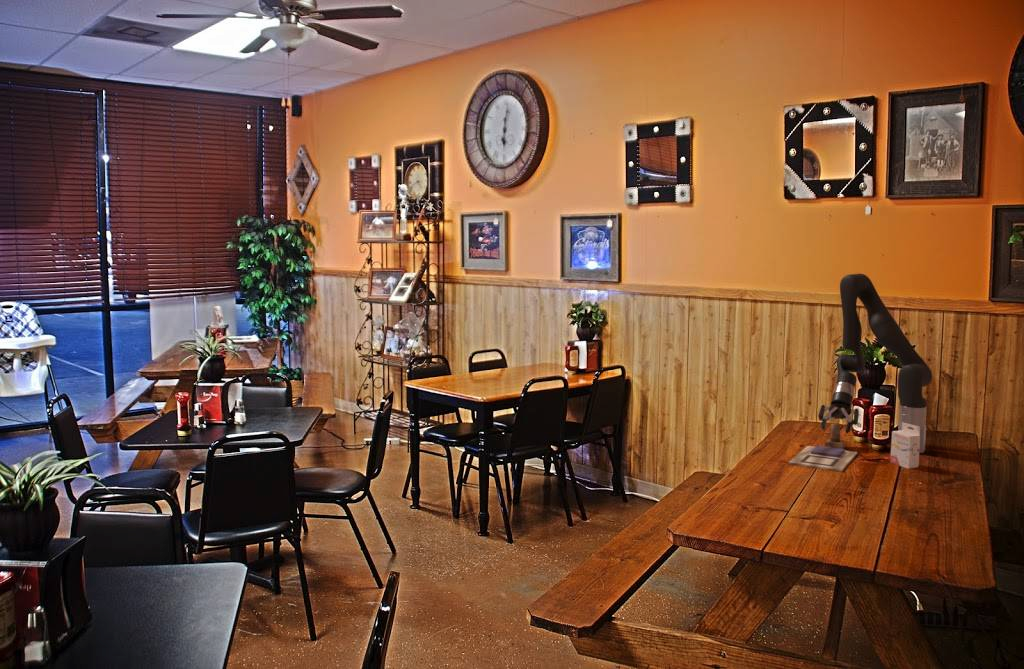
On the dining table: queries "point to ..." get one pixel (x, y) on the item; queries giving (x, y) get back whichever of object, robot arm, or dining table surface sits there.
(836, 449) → the stamping board
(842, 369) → the robot arm
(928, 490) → the dining table surface
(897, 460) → the ink cartridge box
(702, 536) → the dining table surface
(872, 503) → the dining table surface
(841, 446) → the hand stamp
